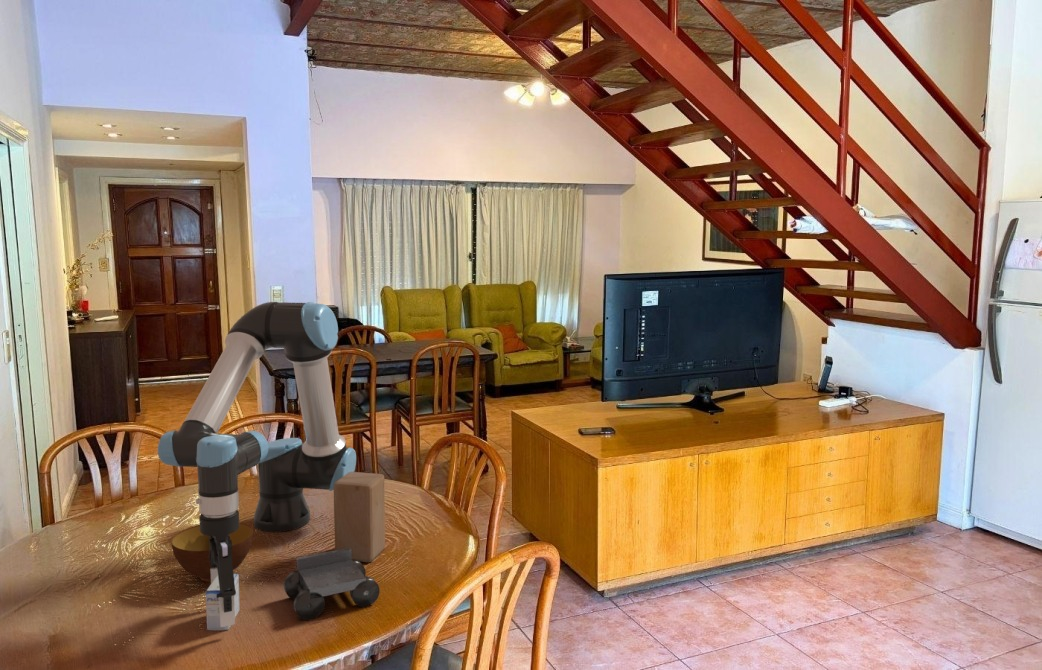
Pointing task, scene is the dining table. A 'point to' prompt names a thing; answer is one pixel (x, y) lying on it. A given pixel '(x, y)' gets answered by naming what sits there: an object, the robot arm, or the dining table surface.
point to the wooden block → (360, 514)
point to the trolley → (328, 582)
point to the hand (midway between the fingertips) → (222, 610)
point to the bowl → (195, 549)
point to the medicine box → (213, 604)
